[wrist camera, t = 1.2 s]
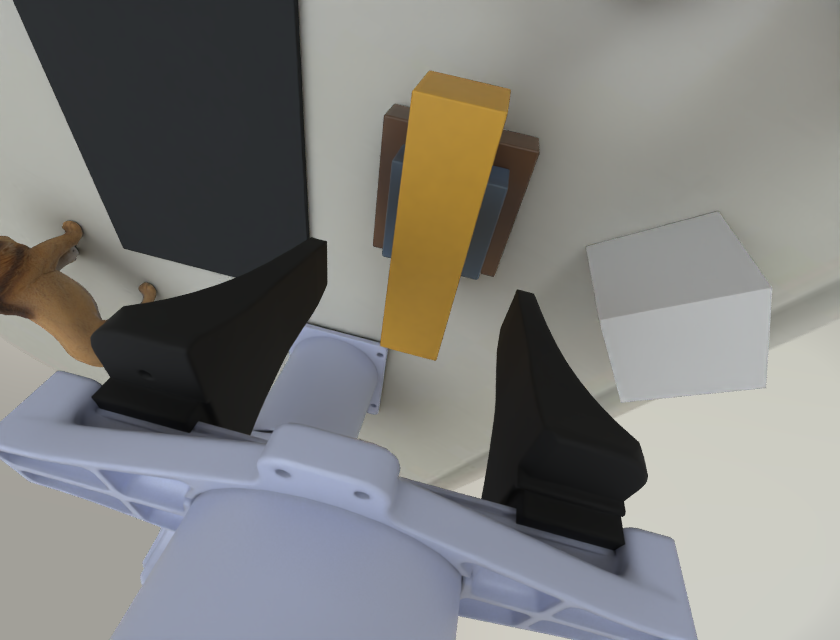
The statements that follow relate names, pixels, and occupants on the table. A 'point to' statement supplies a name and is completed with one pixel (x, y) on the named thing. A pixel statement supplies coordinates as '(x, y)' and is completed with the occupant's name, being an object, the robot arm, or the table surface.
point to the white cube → (682, 310)
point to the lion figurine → (53, 291)
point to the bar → (439, 204)
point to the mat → (185, 121)
